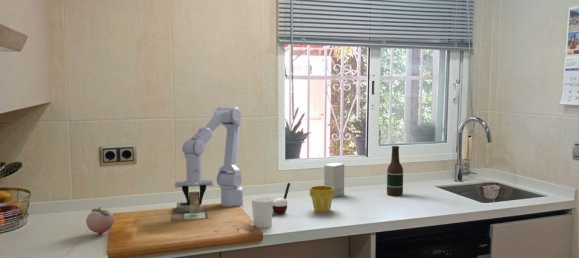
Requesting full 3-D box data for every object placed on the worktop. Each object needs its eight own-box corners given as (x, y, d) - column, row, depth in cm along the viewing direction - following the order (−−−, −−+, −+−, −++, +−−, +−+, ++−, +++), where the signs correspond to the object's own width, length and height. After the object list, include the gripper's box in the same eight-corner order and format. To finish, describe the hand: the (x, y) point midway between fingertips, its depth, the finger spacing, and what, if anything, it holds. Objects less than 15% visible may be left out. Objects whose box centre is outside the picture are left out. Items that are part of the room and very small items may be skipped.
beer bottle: (404, 196, 216) (405, 147, 214) (388, 196, 216) (389, 147, 215) (401, 193, 224) (401, 145, 222) (385, 193, 224) (385, 145, 222)
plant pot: (304, 210, 191) (304, 188, 191) (320, 206, 199) (320, 184, 198) (323, 215, 184) (323, 191, 184) (339, 210, 192) (339, 187, 191)
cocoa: (271, 216, 184) (269, 187, 183) (268, 212, 190) (267, 184, 189) (293, 214, 186) (292, 185, 185) (290, 209, 192) (289, 182, 191)
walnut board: (206, 209, 195) (206, 205, 194) (208, 222, 174) (208, 218, 174) (172, 211, 192) (172, 207, 192) (170, 225, 171) (170, 221, 171)
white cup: (257, 229, 165) (256, 202, 164) (248, 224, 172) (248, 198, 171) (276, 226, 168) (276, 200, 168) (267, 221, 175) (267, 196, 175)
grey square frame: (197, 207, 192) (197, 201, 192) (197, 212, 184) (197, 206, 184) (177, 208, 191) (176, 202, 190) (176, 213, 182) (176, 207, 182)
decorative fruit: (80, 236, 158) (79, 208, 157) (98, 230, 165) (97, 203, 164) (101, 239, 154) (100, 211, 154) (118, 232, 162) (117, 205, 161)
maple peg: (199, 210, 180) (199, 191, 180) (200, 213, 176) (199, 193, 176) (189, 211, 179) (188, 191, 179) (189, 214, 175) (189, 194, 175)
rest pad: (204, 213, 183) (204, 212, 183) (205, 218, 175) (205, 217, 175) (184, 214, 181) (184, 213, 181) (184, 219, 173) (184, 218, 173)
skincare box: (335, 193, 225) (335, 162, 224) (345, 195, 220) (345, 163, 219) (323, 195, 219) (323, 164, 218) (333, 197, 215) (333, 165, 213)
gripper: (174, 173, 171) (175, 208, 172) (212, 171, 174) (213, 205, 175) (174, 170, 178) (175, 203, 179) (212, 168, 181) (212, 201, 182)
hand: (194, 204), depth 177 cm, fingers closed on maple peg, 4 cm apart
